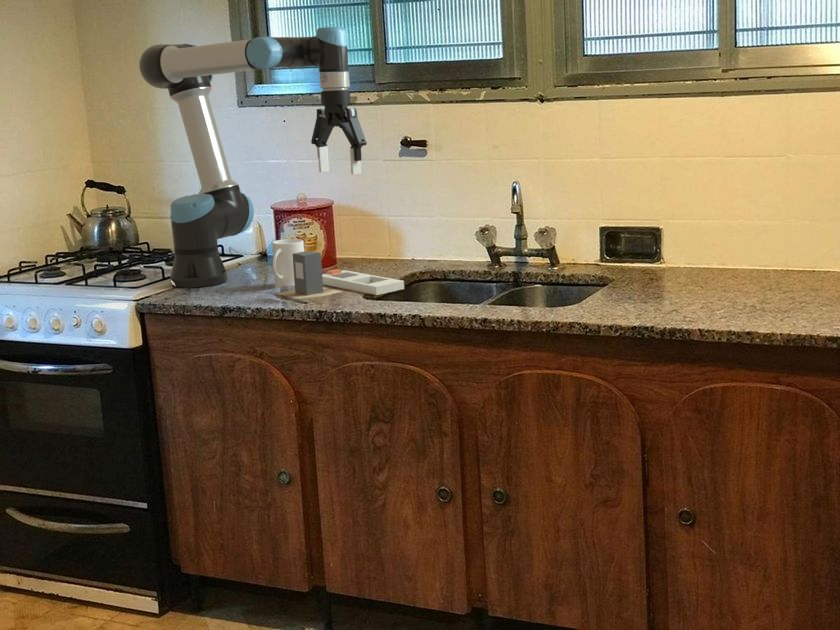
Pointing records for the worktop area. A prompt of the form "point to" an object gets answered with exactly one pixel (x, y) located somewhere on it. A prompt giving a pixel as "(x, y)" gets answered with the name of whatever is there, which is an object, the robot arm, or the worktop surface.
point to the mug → (285, 260)
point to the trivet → (304, 297)
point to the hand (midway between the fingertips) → (340, 172)
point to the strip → (361, 282)
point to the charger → (308, 272)
